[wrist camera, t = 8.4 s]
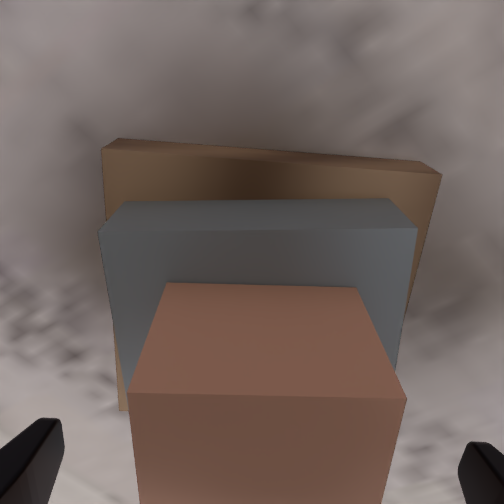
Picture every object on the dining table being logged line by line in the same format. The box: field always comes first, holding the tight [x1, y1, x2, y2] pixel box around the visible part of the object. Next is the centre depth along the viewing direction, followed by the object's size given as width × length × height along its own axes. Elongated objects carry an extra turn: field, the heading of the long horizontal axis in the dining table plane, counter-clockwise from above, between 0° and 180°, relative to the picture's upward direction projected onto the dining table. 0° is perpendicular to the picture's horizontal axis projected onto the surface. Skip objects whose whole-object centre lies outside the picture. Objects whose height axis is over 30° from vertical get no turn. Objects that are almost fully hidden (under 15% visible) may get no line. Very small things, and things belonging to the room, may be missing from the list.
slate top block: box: [98, 198, 418, 410], centre depth 13 cm, size 8×8×2 cm
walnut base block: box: [101, 138, 442, 411], centre depth 16 cm, size 10×10×2 cm
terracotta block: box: [127, 282, 407, 504], centre depth 10 cm, size 5×5×4 cm
